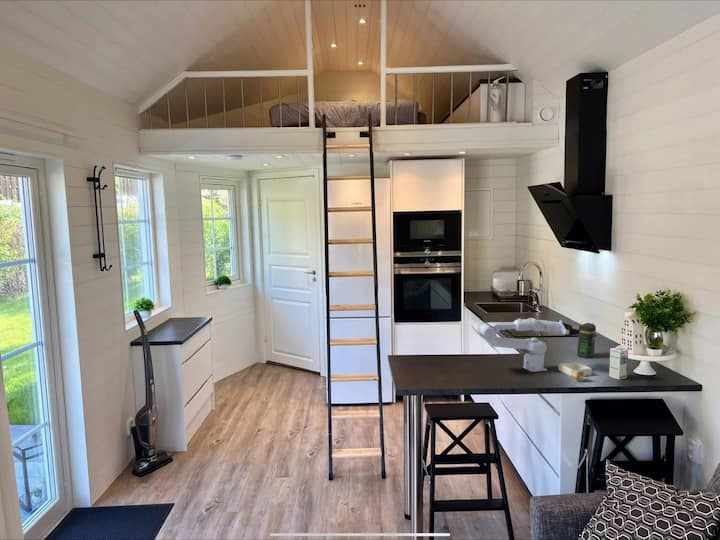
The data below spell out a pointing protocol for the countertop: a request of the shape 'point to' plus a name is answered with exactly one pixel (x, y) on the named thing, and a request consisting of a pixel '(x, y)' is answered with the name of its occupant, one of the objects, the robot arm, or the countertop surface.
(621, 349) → the syrup box
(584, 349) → the coffee jar
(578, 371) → the beech block
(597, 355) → the countertop surface
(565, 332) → the robot arm
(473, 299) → the countertop surface
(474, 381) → the countertop surface
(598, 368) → the countertop surface
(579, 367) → the white tub
